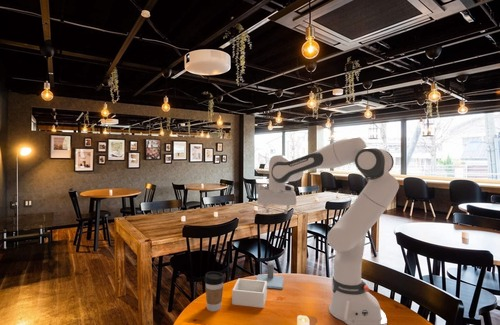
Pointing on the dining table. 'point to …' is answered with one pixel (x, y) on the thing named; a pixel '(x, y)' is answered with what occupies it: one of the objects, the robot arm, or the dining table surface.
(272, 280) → the lid
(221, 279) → the coffee cup
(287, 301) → the dining table surface
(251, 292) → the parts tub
